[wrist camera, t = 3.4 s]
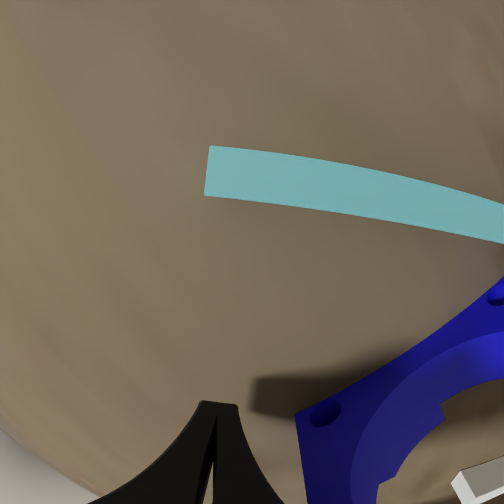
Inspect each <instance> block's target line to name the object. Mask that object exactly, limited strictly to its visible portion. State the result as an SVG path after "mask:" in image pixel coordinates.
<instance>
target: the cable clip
mask: <svg viewBox="0 0 504 504" xmlns="http://www.w3.org/2000/svg"><path fill="white" fill-rule="evenodd" d="M502 378H504V277H503V278H501V279H500V280H499V281H498V282H497V283H496V284H495V285H494V286H492V287H491V288H490V289H489V290H488V291H487V292H485V293H484V294H483V295H482V296H481V297H479V298H478V299H477V300H476V301H475V302H473V303H472V304H471V305H470V306H468V307H467V308H466V309H465V310H463V311H462V312H461V313H460V314H458V315H457V316H456V317H454V318H453V319H452V320H450V321H449V322H448V323H447V324H445V325H444V326H442V327H441V328H440V329H438V330H437V331H436V332H434V333H433V334H431V335H430V336H429V337H427V338H426V339H424V340H423V341H421V342H420V343H419V344H417V345H416V346H414V347H413V348H411V349H410V350H408V351H407V352H405V353H404V354H402V355H401V356H399V357H397V358H396V359H394V360H393V361H391V362H390V363H388V364H386V365H385V366H383V367H382V368H380V369H378V370H377V371H375V372H373V373H372V374H370V375H368V376H366V377H365V378H363V379H361V380H360V381H358V382H356V383H354V384H353V385H351V386H349V387H347V388H345V389H344V390H342V391H340V392H338V393H336V394H334V395H332V396H330V397H329V398H327V399H325V400H323V401H321V402H319V403H317V404H315V405H313V406H311V407H309V408H307V409H305V410H303V411H301V412H298V413H296V414H294V415H295V422H296V428H297V435H298V441H299V448H300V455H301V461H302V468H303V475H304V482H305V489H306V496H307V503H308V504H376V497H377V490H378V486H379V484H381V483H383V482H385V481H387V480H389V479H391V478H393V477H395V475H396V473H397V472H398V470H399V468H400V466H401V465H402V463H403V462H404V460H405V459H406V457H407V456H408V454H409V453H410V452H411V451H412V449H413V448H414V447H415V446H416V445H417V444H418V442H419V441H420V440H421V439H423V438H424V437H425V435H427V434H428V433H429V432H430V431H431V430H432V429H433V428H435V427H436V426H437V425H439V424H440V423H441V422H443V421H444V420H445V418H444V415H443V411H442V408H441V405H440V403H442V402H443V401H445V400H446V399H448V398H450V397H451V396H453V395H455V394H457V393H459V392H461V391H463V390H465V389H467V388H470V387H472V386H475V385H478V384H480V383H484V382H488V381H491V380H496V379H502Z"/></svg>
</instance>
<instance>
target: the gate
mask: <svg viewBox="0 0 504 504" xmlns="http://www.w3.org/2000/svg"><path fill="white" fill-rule="evenodd" d="M204 195H205V196H215V197H224V198H233V199H241V200H250V201H258V202H266V203H274V204H281V205H289V206H296V207H303V208H310V209H317V210H324V211H331V212H337V213H344V214H350V215H357V216H363V217H369V218H375V219H381V220H387V221H392V222H398V223H404V224H409V225H415V226H420V227H425V228H430V229H436V230H441V231H446V232H451V233H456V234H461V235H465V236H470V237H475V238H480V239H484V240H489V241H493V242H498V243H502V244H504V204H501V203H497V202H494V201H491V200H488V199H485V198H482V197H478V196H475V195H472V194H468V193H465V192H462V191H458V190H455V189H451V188H447V187H444V186H440V185H436V184H432V183H428V182H424V181H421V180H416V179H412V178H408V177H404V176H400V175H395V174H391V173H386V172H382V171H377V170H372V169H368V168H363V167H358V166H353V165H347V164H342V163H336V162H331V161H325V160H319V159H313V158H307V157H301V156H294V155H287V154H280V153H273V152H265V151H257V150H249V149H240V148H230V147H220V146H210V148H209V156H208V164H207V173H206V182H205V191H204Z"/></svg>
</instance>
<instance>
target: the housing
mask: <svg viewBox="0 0 504 504" xmlns="http://www.w3.org/2000/svg"><path fill="white" fill-rule="evenodd" d="M451 484H452V486H453V488H454V490H455V492H456V494H457V496H458V497H459V499H460V501H461V503H462V504H480V503H483V502H485V501H487V500H490V499H492V498H494V497H496V496H499V495H501V494H503V493H504V456H503V457H500V458H497V459H495V460H492V461H489V462H486V463H483V464H480V465H477V466H474V467H471V468H468V469H465V470H461V471H460V472H459V473H458V474H457V476H456V477H455V478H454V480H453V481H452V482H451Z"/></svg>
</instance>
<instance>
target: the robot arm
mask: <svg viewBox="0 0 504 504" xmlns="http://www.w3.org/2000/svg"><path fill="white" fill-rule="evenodd" d="M212 463H213V503H212V504H284V503H283V501H282V500H281V499H280V498H279V497H278V495H277V494H276V493H275V491H274V490H273V489H272V487H271V486H270V484H269V483H268V481H267V480H266V478H265V477H264V475H263V473H262V472H261V470H260V468H259V466H258V464H257V462H256V460H255V458H254V456H253V454H252V452H251V450H250V448H249V445H248V443H247V440H246V437H245V435H244V432H243V429H242V425H241V422H240V417H239V411H238V406H237V405H236V404H228V403H219V402H212V401H204V400H202V401H201V402H199V404H198V407H197V409H196V411H195V412H194V414H193V416H192V417H191V419H190V420H189V422H188V423H187V425H186V426H185V427H184V429H183V430H182V432H181V433H180V434H179V436H178V437H177V438H176V439H175V440H174V441H173V443H172V444H171V445H170V446H169V447H168V448H167V449H166V450H165V452H164V453H163V454H162V455H161V456H160V457H159V458H158V459H156V460H155V461H154V462H153V463H152V464H151V465H150V466H149V467H147V468H146V469H145V470H144V471H142V472H141V473H140V474H139V475H137V476H136V477H135V478H133V479H132V480H130V481H129V482H127V483H126V484H124V485H122V486H121V487H119V488H118V489H116V490H114V491H113V492H111V493H109V494H107V495H105V496H103V497H101V498H99V499H97V500H94V501H92V502H90V503H88V504H203V500H204V496H205V492H206V488H207V484H208V480H209V476H210V472H211V467H212Z"/></svg>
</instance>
